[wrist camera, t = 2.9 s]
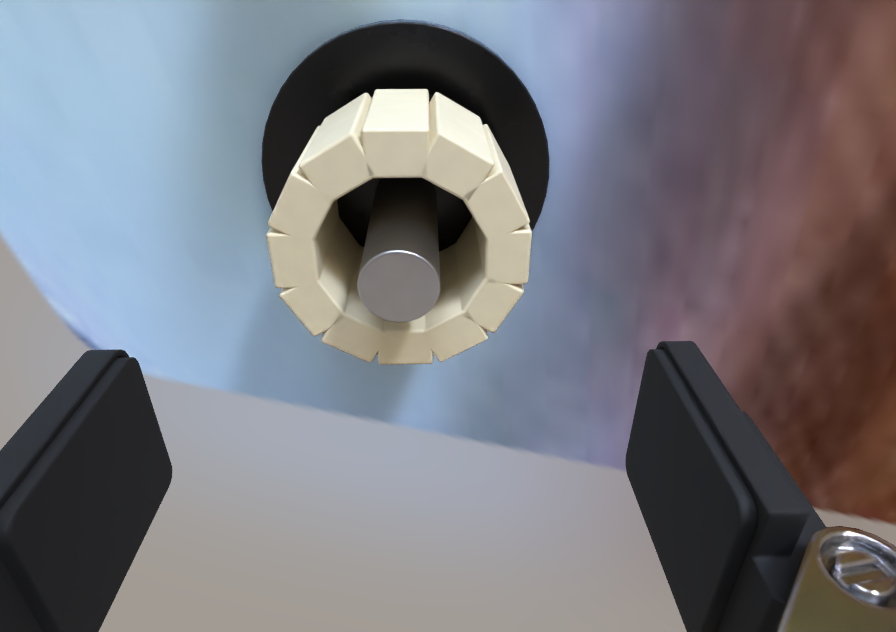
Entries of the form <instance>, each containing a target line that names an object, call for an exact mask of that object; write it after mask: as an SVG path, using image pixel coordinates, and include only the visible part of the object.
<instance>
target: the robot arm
mask: <svg viewBox="0 0 896 632" xmlns="http://www.w3.org/2000/svg"><path fill="white" fill-rule="evenodd" d="M626 470H627V475H628V478H629V480H630V483H631V486H632V488H633V491H634V494H635V496H636V499H637V501H638V504H639V507H640V509H641V512H642V515H643V517H644V520H645V523H646V525H647V527H648V530H649V533H650V535H651V538H652V541H653V543H654V546H655V549H656V552H657V554H658V557H659V559H660V562H661V565H662V567H663V570H664V572H665V575H666V578H667V580H668V583H669V585H670V588H671V591H672V594H673V596H674V599H675V601H676V604H677V607H678V609H679V612H680V614H681V617H682V620H683V623H684V625H685V628H686V630H687V632H896V547H895V546H894V545H893V544H891V543H889V542H887V541H885V540H884V539H881V538H880V537H878V536H876V535H874V534H871V533H868V532H865V531H863V530H859V529H856V528H850V527H843V526H836V527H826V526H825V525H824V523H823V522H822V520H821V519H820V518H819V516H818V514H817V513H816V512H815V510H814V509H813V507H812V506H811V504H810V503H809V501H808V500H807V499H806V497H805V496H804V494H803V493H802V491H801V490H800V488H799V487H798V486H797V484H796V483H795V481H794V480H793V478H792V477H791V475H790V474H789V473H788V471H787V470H786V468H785V467H784V465H783V464H782V462H781V461H780V460H779V458H778V457H777V455H776V454H775V452H774V451H773V449H772V448H771V446H770V445H769V444H768V442H767V441H766V439H765V438H764V436H763V435H762V433H761V432H760V431H759V429H758V428H757V426H756V425H755V423H754V422H753V420H752V419H751V418H750V417H749V416H748V415H747V414H746V413H745V412H742V411H741V410H740V408H739V407H738V405H737V404H736V403H735V401H734V400H733V398H732V397H731V395H730V394H729V392H728V391H727V389H726V388H725V386H724V385H723V383H722V382H721V380H720V379H719V378H718V376H717V375H716V373H715V372H714V370H713V369H712V367H711V366H710V364H709V363H708V361H707V360H706V358H705V357H704V356H703V354H702V353H701V351H700V350H699V348H698V347H697V345H696V344H695V343H694V342H692V341H663V342H660V343H659V344H658V346H657V348H656V349H651V350H649V351H648V353H647V356H646V361H645V366H644V371H643V376H642V380H641V385H640V390H639V395H638V400H637V405H636V410H635V415H634V419H633V424H632V429H631V434H630V439H629V444H628V449H627V454H626ZM171 478H172V465H171V462H170V459H169V456H168V452H167V449H166V447H165V443H164V440H163V437H162V434H161V431H160V427H159V424H158V421H157V418H156V415H155V412H154V409H153V406H152V403H151V400H150V396H149V394H148V390H147V387H146V384H145V381H144V378H143V375H142V371H141V368H140V365H139V363H138V361H137V360H136V359H135V358H133V357H129V356H128V354H127V353H126V352H125V351H124V350H90V351H87V352H85V353H84V354H83V355H82V356H81V358H80V359H79V360H78V361H77V362H76V363H75V364H74V366H73V367H72V368H71V369H70V370H69V371H68V373H67V374H66V375H65V376H64V377H63V379H62V380H61V381H60V382H59V383H58V384H57V385H56V387H55V388H54V389H53V390H52V391H51V393H50V394H49V395H48V396H47V397H46V398H45V399H44V401H43V402H42V403H41V404H40V405H39V406H38V408H37V409H36V410H35V411H34V412H33V413H32V414H31V416H30V417H29V418H28V419H27V420H26V422H25V423H24V424H23V425H22V426H21V427H20V429H19V430H18V431H17V432H16V433H15V434H14V435H13V437H12V438H11V439H10V440H9V441H8V442H7V444H6V445H5V446H4V447H3V448H2V450H1V451H0V632H98V631H99V629H100V627H101V625H102V623H103V621H104V619H105V617H106V615H107V613H108V611H109V609H110V607H111V605H112V602H113V601H114V599H115V597H116V594H117V592H118V590H119V588H120V586H121V584H122V582H123V580H124V578H125V576H126V574H127V572H128V570H129V568H130V566H131V564H132V562H133V560H134V557H135V555H136V553H137V551H138V549H139V547H140V545H141V543H142V541H143V539H144V537H145V535H146V533H147V531H148V529H149V527H150V524H151V523H152V520H153V518H154V516H155V514H156V512H157V510H158V508H159V506H160V504H161V502H162V500H163V498H164V496H165V494H166V492H167V490H168V488H169V485H170V482H171Z"/></svg>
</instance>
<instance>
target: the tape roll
mask: <svg viewBox="0 0 896 632" xmlns="http://www.w3.org/2000/svg"><path fill="white" fill-rule="evenodd" d="M372 178H424V179H425V180H427V181H429V182H431V183H433V184H435V185H437V186H438V187H440V188H442V189H444V190H446V191H448V192H449V193H451V194H453V195H455V196H457V197H459V198H461V199H462V200H463V201H464V202H465V204H466V206H467V207H468V209H469V211H470V212H471V214H472V216H473V217H472V218H471V220H470V221H469V223H468V225H467V226H466V228H465V229H464V231H463V232H462V234H461V236H460V237H459V239H458V240H457V242H456V243H455V244H453V245H451V246H450V247H448V248H446V249H444V250H442V251H440V252H439V265H440V294H439V297H438V300H437V302H436V304H435V305H434V307H433V308H432V309H431V310H430V311H429V312H428V313H427V314H425V315H424V316H422V317H420V318H418V319H416V320H413V321H409V322H390V321H387V320H384V319H381V318H379V317H377V316H375V315H374V314H373V313H371V312H370V311H369V310H368V309H367V308H366V307H365V305H364V304H363V302H362V301H361V299H360V296H359V293H358V288H357V282H358V276H359V271H360V266H361V261H362V256H363V251H364V247H362V246H360V245H359V244H358V242H357V241H356V240H355V238H354V237H353V236H352V234H351V233H350V231H349V230H348V229H347V227H346V226H345V225H344V223H343V222H342V220H341V219H340V218H339V212H338V203H337V199H338V198H340V197H342V196H343V195H345V194H347V193H349V192H350V191H352V190H354V189H355V188H357V187H359V186H360V185H362V184H364V183H366V182H367V181H369V180H371V179H372ZM529 222H530V219H529V217H528V214H527V211H526V209H525V206H524V203H523V201H522V198H521V195H520V193H519V190H518V187H517V185H516V182H515V179H514V177H513V174H512V171H511V169H510V166H509V164H508V162H507V160H506V158H505V157H504V155H503V153H502V151H501V149H500V147H499V145H498V143H497V142H496V140H495V138H494V136H493V134H492V132H491V130H490V128H489V127H488V125H487V124H484V125H482V121H481V118H480V117H479V116H477V115H475V114H474V113H472V112H470V111H469V110H467V109H465V108H464V107H462V106H460V105H459V104H457V103H455V102H454V101H452V100H450V99H449V98H447V97H445V96H443V95H442V94H440V93H438V92H436V93H435V94H434V95H433V97H432V99H431V101H430V102H429V91H428V90H427V89H376V90H375V92H374V95H373V98H371V97H370V95H369V94H368V93H364V94H362V95H361V96H359V97H357V98H356V99H354V100H353V101H351V102H349V103H348V104H346V105H345V106H343V107H342V108H340V109H338V110H337V111H335V112H334V113H332V114H331V115H329V116H327V117H326V118H325V119H324V121H323V122H322V124H321V126H318V127H317V128H316V130H315V131H314V133H313V135H312V137H311V138H310V140H309V142H308V144H307V145H306V147H305V149H304V150H303V152H302V154H301V156H300V157H299V159H298V161H297V163H296V164H295V166H294V168H293V170H292V171H291V173H290V175H289V177H288V179H287V182H286V184H285V186H284V188H283V190H282V193H281V195H280V197H279V199H278V201H277V204H276V206H275V208H274V210H273V212H272V215H271V217H270V219H269V221H268V226H270V229H269V231H268V233H267V235H266V236H267V242H268V248H269V254H270V260H271V266H272V271H273V277H274V283H275V286H276V288H282V290H281V293H280V297H281V299H282V300H283V301H284V302H285V303H286V304H287V306H288V307H289V308H290V309H291V310H292V312H293V313H294V314H295V315H296V316H297V317H298V319H299V320H300V321H301V322H302V323H303V325H304V326H305V327H306V328H307V329H308V330H309V332H310V333H311V334H312V335H313V336H317V335H319V334H321V333H323V335H322V340H321V341H322V342H323V343H325V344H327V345H330V346H332V347H334V348H337V349H339V350H341V351H344V352H346V353H348V354H351V355H353V356H355V357H358V358H360V359H362V360H364V361H367V362H372V361H373V359H374V357H375V356H376V354H377V353H378V362H379V364H381V365H387V364H431V363H432V362H433V353H434V354H435V356H436V357H437V358H438V360H439V361H440V362H442V361H444V360H447V359H449V358H451V357H453V356H455V355H457V354H459V353H461V352H463V351H465V350H467V349H469V348H471V347H473V346H475V345H477V344H479V343H481V342H483V341H485V340H487V339H488V335H487V330H488V331H490V332H492V333H494V332H495V331H496V330H497V329H498V327H499V326H500V325H501V323H502V322H503V320H504V319H505V318H506V316H507V315H508V314H509V312H510V311H511V309H512V308H513V307H514V305H515V304H516V303H517V301H518V300H519V298H520V297H521V296H522V294H523V292H524V289H523V286H522V284H526V283H527V282H528V276H529V263H530V251H531V238H532V231H531V229H530V226H529Z"/></svg>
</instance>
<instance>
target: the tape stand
mask: <svg viewBox="0 0 896 632" xmlns="http://www.w3.org/2000/svg"><path fill="white" fill-rule="evenodd" d="M376 89H427V90H428V91H429V102H430V101H431V99H432V97H433V95H434V94H435V93H436V92H438V93H440V94H442V95H443V96H445V97H447V98H449V99H450V100H452V101H454V102H455V103H457V104H459V105H460V106H462V107H464V108H465V109H467V110H469V111H470V112H472V113H474V114H475V115H477V116H479V117H480V118H481V121H482V125H484V124H487V125H488V127H489V128H490V130H491V132H492V134H493V136H494V138H495V140H496V142H497V143H498V145H499V147H500V149H501V151H502V153H503V155H504V157H505V158H506V160H507V162H508V164H509V166H510V169H511V171H512V174H513V177H514V179H515V182H516V185H517V187H518V190H519V193H520V195H521V198H522V201H523V203H524V206H525V209H526V211H527V214H528V217H529V219H530V222H529V226H530V229H531V231H533V229H534V227H535V225H536V223H537V220H538V218H539V216H540V214H541V211H542V208H543V204H544V201H545V197H546V193H547V187H548V181H549V151H548V142H547V137H546V133H545V129H544V125H543V122H542V119H541V117H540V114H539V112H538V109H537V107H536V104H535V103H534V101H533V99H532V97H531V96H530V94H529V92H528V90H527V89H526V87H525V85H524V84H523V83H522V81H521V80H520V79H519V78H518V76H517V75H516V74H515V72H514V71H513V70H512V69H511V68H510V67H509V66H508V65H507V64H506V63H505V62H504V61H503V60H502V59H501V58H500V57H499V56H498V55H497V54H496V53H494V52H493V51H492V50H490V49H489V48H488V47H486V46H485V45H484V44H482V43H481V42H479V41H477V40H475V39H474V38H472V37H470V36H468V35H466V34H464V33H462V32H460V31H457V30H454V29H451V28H449V27H446V26H443V25H439V24H434V23H430V22H425V21H415V20H390V21H380V22H375V23H371V24H366V25H362V26H359V27H356V28H354V29H351V30H348V31H346V32H343V33H341V34H339V35H338V36H336V37H334V38H332V39H330V40H329V41H327V42H325V43H324V44H322V45H321V46H320V47H318V48H317V49H316V50H315V51H313V52H312V53H311V54H310V55H308V56H307V57H306V58H305V59H304V60H303V61H302V62H301V64H300V65H299V66H298V67H297V68H296V69H295V70H294V71H293V72H292V73H291V75H290V76H289V77H288V79H287V80H286V82H285V83H284V85H283V86H282V87H281V89H280V91H279V93H278V95H277V97H276V99H275V101H274V103H273V105H272V107H271V110H270V113H269V116H268V119H267V122H266V126H265V132H264V137H263V143H262V171H263V181H264V185H265V189H266V193H267V198H268V201H269V203H270V206H271V209H272V211H273V210H274V208H275V206H276V204H277V201H278V199H279V197H280V195H281V193H282V190H283V188H284V186H285V184H286V182H287V179H288V177H289V175H290V173H291V171H292V170H293V168H294V166H295V164H296V163H297V161H298V159H299V157H300V156H301V154H302V152H303V150H304V149H305V147H306V145H307V144H308V142H309V140H310V138H311V137H312V135H313V133H314V131H315V130H316V128H317V127H318V126H321V124H322V122H323V121H324V119H325V118H326V117H327V116H329V115H331V114H332V113H334V112H335V111H337V110H338V109H340V108H342V107H343V106H345V105H346V104H348V103H349V102H351V101H353V100H354V99H356V98H357V97H359V96H361V95H362V94H364V93H368V94H369V95H370V97H371V98H373V95H374V92H375V90H376ZM337 203H338V212H339V218H340V219H341V220H342V222H343V223H344V225H345V226H346V227H347V229H348V230H349V231H350V233H351V234H352V236H353V237H354V238H355V240H356V241H357V242H358V244H359V245H360V246H362V247H364V251H363V256H362V261H361V266H360V271H359V276H358V282H357V288H358V293H359V296H360V299H361V301H362V302H363V304H364V305H365V307H366V308H367V309H368V310H369V311H370V312H371V313H373V314H374V315H375V316H377V317H379V318H381V319H384V320H387V321H390V322H409V321H413V320H416V319H418V318H420V317H422V316H424V315H425V314H427V313H428V312H429V311H430V310H431V309H432V308H433V307H434V305H435V304H436V302H437V300H438V297H439V294H440V265H439V252H440V251H442V250H444V249H446V248H448V247H450V246H451V245H453V244H455V243H456V242H457V240H458V239H459V237H460V236H461V234H462V232H463V231H464V229H465V228H466V226H467V225H468V223H469V221H470V220H471V218H472V217H473V216H472V214H471V212H470V211H469V209H468V207H467V206H466V204H465V202H464V201H463V200H462V199H461V198H459V197H457V196H455V195H453V194H451V193H449V192H448V191H446V190H444V189H442V188H440V187H438V186H437V185H435V184H433V183H431V182H429V181H427V180H425V179H424V178H372V179H371V180H369V181H367V182H366V183H364V184H362V185H360V186H359V187H357V188H355V189H354V190H352V191H350V192H349V193H347V194H345V195H343V196H342V197H340V198H338V199H337Z"/></svg>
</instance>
